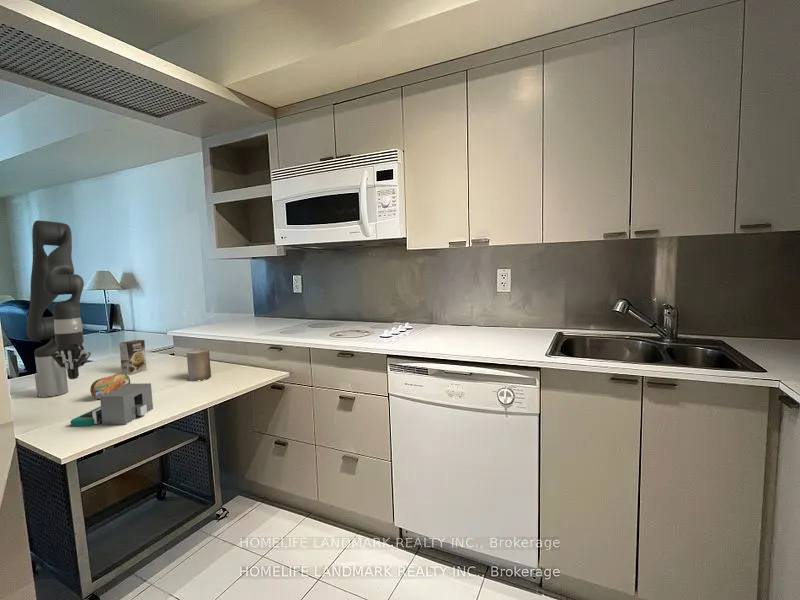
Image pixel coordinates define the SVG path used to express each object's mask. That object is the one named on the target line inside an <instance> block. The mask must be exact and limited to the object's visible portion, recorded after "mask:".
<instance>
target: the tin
mask: <svg viewBox="0 0 800 600" xmlns="http://www.w3.org/2000/svg"><path fill="white" fill-rule="evenodd" d="M128 384H131V378H130V376H129V375H127V374H122V373H114V374H111V375H107V376H106V377H105V376H104V377H102V378H98V379H95V381H93V382H92V384H91V385H90V390H89V392H90V395H91V396H92V397H93V398H94V399H98V400H100V396H102V395H105V394H107V393H109V392H112V391H114V390H116V389H119V388H121V387H123V386H126V385H128Z"/></svg>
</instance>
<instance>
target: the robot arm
mask: <svg viewBox="0 0 800 600" xmlns="http://www.w3.org/2000/svg"><path fill="white" fill-rule="evenodd" d="M31 233H32V234H31V236H32V237H31V240H32V241H31V242H32V265H31V275H30V297H29V298H30V299H29V300H30V301H29V311H28V315H27V320H26V321H27V322H26V335H27V337H28V339H29V340H30V341H43V340H49V341H48V342H47V343H46V344H44V345H43V346H40V347H38V348H36V349H35V350H34V359H35V367H36V373H35V374H34V381H35V382H34V383H35V387H36V388H35V390H36V396H37V395H40V396H43V397H42V398H48V397H47V396H53V397H56V396H55V395H58V396H61V395H60V394H62V395H64V394H63V393H65V394H66V392H67V393H68V392H69V386H68V379H69V380H75V379H78V378H79V376H80V373H79V368H81V367H82V366H84V365H85V363H86V362H87V360H88V359H89V358H90V357H91V354H92V353H91V352H90V351H88V352H87V351H85V347H84V346H83V343H84V342H85V341H84V332H83V331H84V330H83V322H82V318H81V308H80V303H81V296H82V293H83V290H84V285H85V282H84V279H83V277H82V276H80V275H79V274H77V273H76V274H75V268H74V263H73V259H72V253H73V252H72V251H73V250H72V249H73V244H72V243H73V240H72V239H73V237H72V230H71V227H70V225H69V224H67V223H65V222H57V221H48V220H39V219H38V220H35V221H34V222H33V225H32V232H31ZM44 246H54V247H56V248H55V249H54V250H52V251H51V252H50V253H49V254H48V255H47V253H46V250H45V248H44ZM60 295H63V296H64V295H71V296H70V297H69V298H68V299H66V300H62V301H58V302H55V303H54V304H52V303H53V302H54V301H55V299H56V298H57V297H58V296H60ZM51 304H52V305H53V306H52V310H53V316H45V317H44V316H43V315H44V312H45V311H46V310H47V308H48V307H49V306H50V305H51ZM40 396H39V397H40Z"/></svg>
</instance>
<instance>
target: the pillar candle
mask: <svg viewBox="0 0 800 600" xmlns="http://www.w3.org/2000/svg"><path fill="white" fill-rule="evenodd" d="M185 353H186V362H187V373H188V380H189V381H190V382H199V381H198V380H201V381H205V380H204V379H206V380H209V379H211V378H212V371H211V369H212V368H211V357H210V355H211V354H210V349H209V348H205V347H204V348H203V347H202V348H194V349H193V348H192V349H190V350H187V351H186V352H185ZM210 377H211V378H210ZM208 378H209V379H208Z"/></svg>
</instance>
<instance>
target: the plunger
mask: <svg viewBox="0 0 800 600" xmlns="http://www.w3.org/2000/svg"><path fill="white" fill-rule="evenodd" d="M135 413H136V417H137V416H143V415H145V413H146V414H147V413H148V412H147V407H146V404H135ZM92 414H93V424H94V425H98V424H100V423H102V413H101V408H99V409H97V410H95V411H93V412H92Z"/></svg>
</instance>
